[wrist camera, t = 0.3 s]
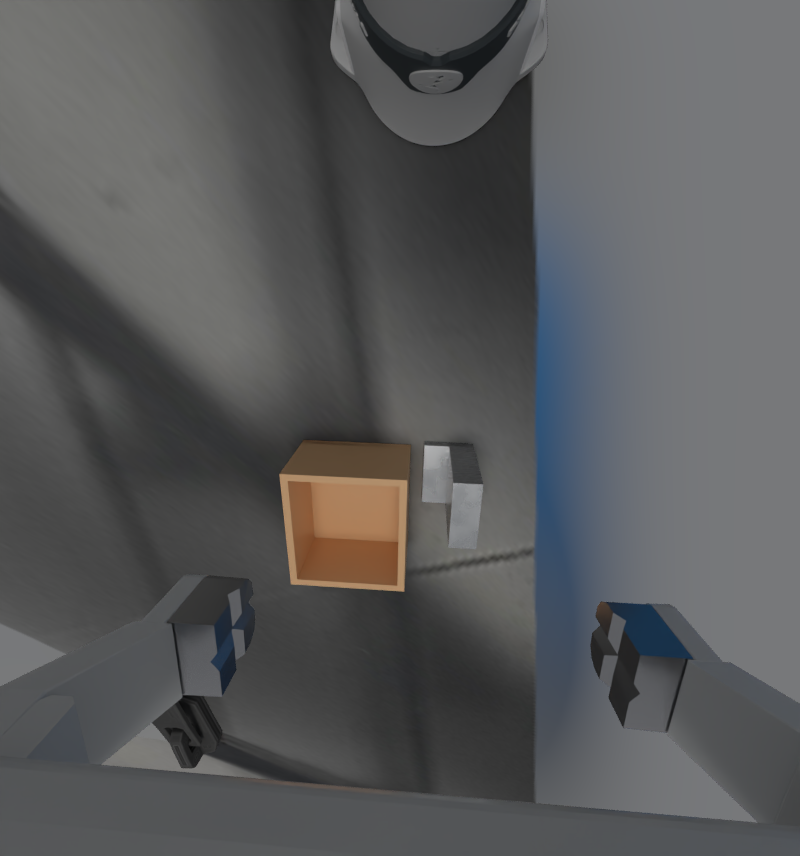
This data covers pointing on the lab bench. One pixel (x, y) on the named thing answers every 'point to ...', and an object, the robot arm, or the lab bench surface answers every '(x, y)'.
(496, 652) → the lab bench surface
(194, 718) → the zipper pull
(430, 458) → the aluminium bracket
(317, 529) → the open box
